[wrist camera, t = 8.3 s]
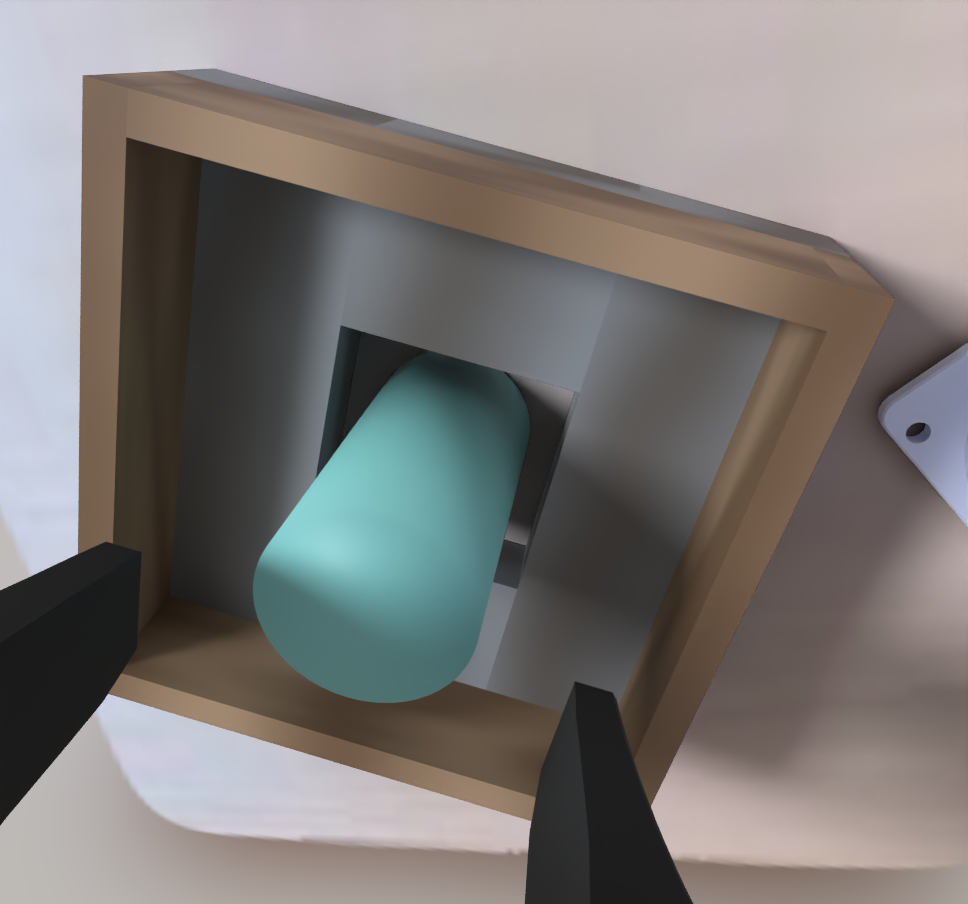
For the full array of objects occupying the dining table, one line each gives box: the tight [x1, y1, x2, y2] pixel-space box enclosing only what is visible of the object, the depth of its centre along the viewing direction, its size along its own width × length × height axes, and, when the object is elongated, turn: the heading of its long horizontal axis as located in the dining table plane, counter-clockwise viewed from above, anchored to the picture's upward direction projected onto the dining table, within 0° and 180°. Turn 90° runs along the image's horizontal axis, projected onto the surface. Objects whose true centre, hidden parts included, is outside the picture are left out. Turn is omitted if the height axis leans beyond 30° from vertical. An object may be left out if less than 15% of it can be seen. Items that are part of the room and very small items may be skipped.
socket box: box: [78, 69, 896, 821], centre depth 19 cm, size 14×14×5 cm
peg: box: [253, 352, 530, 703], centre depth 18 cm, size 4×4×8 cm
